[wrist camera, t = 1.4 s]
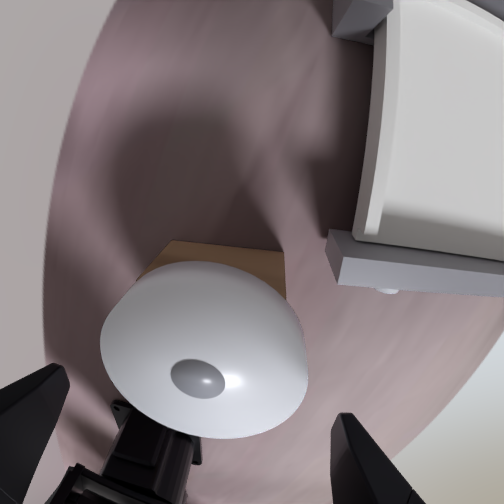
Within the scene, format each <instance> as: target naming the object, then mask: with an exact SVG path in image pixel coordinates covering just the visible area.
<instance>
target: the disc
mask: <svg viewBox="0 0 504 504" xmlns="http://www.w3.org/2000/svg"><path fill="white" fill-rule="evenodd" d="M100 351H101V356H102V360H103V363H104V366H105V369H106V371H107V373H108V375H109V377H110V379H111V380H112V382H113V383H114V385H115V387H116V388H117V389H118V390H119V391H120V393H121V394H122V395H123V396H124V397H125V398H126V399H127V400H128V401H129V402H130V403H131V404H132V405H133V406H134V407H136V408H137V409H138V410H139V411H141V412H142V413H144V414H145V415H147V416H148V417H150V418H151V419H153V420H155V421H157V422H158V423H161V424H163V425H165V426H167V427H169V428H172V429H174V430H177V431H180V432H183V433H187V434H190V435H195V436H200V437H206V438H218V439H231V438H241V437H247V436H252V435H256V434H259V433H262V432H265V431H267V430H270V429H272V428H274V427H276V426H277V425H279V424H281V423H282V422H284V421H285V420H286V419H288V418H289V417H290V416H291V415H292V414H293V413H294V412H295V411H296V410H297V408H298V407H299V405H300V404H301V402H302V401H303V398H304V396H305V393H306V390H307V385H308V366H307V357H306V347H305V339H304V334H303V330H302V327H301V324H300V321H299V319H298V317H297V316H296V314H295V312H294V310H293V309H292V308H291V306H290V305H289V304H288V302H287V301H286V300H285V299H284V298H283V297H282V296H281V295H280V294H279V293H278V292H277V291H276V290H275V289H273V288H272V287H271V286H269V285H268V284H267V283H265V282H264V281H262V280H260V279H259V278H257V277H255V276H254V275H252V274H250V273H247V272H245V271H243V270H240V269H238V268H235V267H231V266H228V265H225V264H220V263H214V262H208V261H184V262H177V263H172V264H167V265H164V266H162V267H159V268H156V269H154V270H152V271H150V272H149V273H147V274H145V275H144V276H143V277H141V278H140V279H139V280H137V281H136V282H135V283H134V285H133V286H132V287H131V288H130V289H129V290H128V291H127V293H126V294H125V295H124V296H123V297H122V299H121V300H120V301H119V302H118V303H117V305H116V306H115V307H114V308H113V309H112V311H111V312H110V313H109V315H108V316H107V318H106V320H105V322H104V325H103V327H102V330H101V337H100Z"/></svg>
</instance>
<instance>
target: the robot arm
mask: <svg viewBox="0 0 504 504" xmlns="http://www.w3.org/2000/svg"><path fill="white" fill-rule="evenodd" d="M69 388H70V382H69V379H68V377H67V374H66V371H65V369H64V367H63V366H62V365H59V364H56V363H51V364H49V365H47V366H45V367H44V368H42V369H39V370H37V371H36V372H34V373H32V374H30V375H28V376H26V377H24V378H22V379H20V380H18V381H16V382H14V383H12V384H10V385H8V386H6V387H4V388H2V389H0V504H23V501H24V498H25V496H26V493H27V490H28V488H29V485H30V483H31V480H32V478H33V475H34V473H35V471H36V468H37V466H38V463H39V461H40V459H41V456H42V454H43V452H44V450H45V447H46V445H47V443H48V441H49V439H50V436H51V434H52V432H53V430H54V428H55V426H56V423H57V421H58V418H59V416H60V413H61V410H62V407H63V404H64V402H65V399H66V396H67V393H68V391H69ZM110 406H111V409H112V412H113V415H114V418H115V420H116V423H117V425H118V428H119V432H118V434H117V436H116V438H115V440H114V443H113V445H112V447H111V449H110V451H109V454H108V456H107V458H106V460H105V463H104V465H103V467H102V469H101V472H100V474H99V475H98V474H96V473H94V472H92V471H90V470H88V469H86V468H85V466H83V465H81V464H79V463H77V464H76V465H75V467H71V466H69V468H68V469H67V471H66V474H65V476H64V478H63V479H62V481H61V483H60V485H59V486H58V487H57V489H56V490H55V491H54V492H53V494H52V495H51V496H50V497H49V499H48V500H47V501H46V502H45V504H182V500H183V495H184V491H185V487H186V483H187V479H188V475H189V471H190V467H191V464H193V465H201V464H202V446H201V437H200V436H195V435H190V434H187V433H183V432H180V431H177V430H174V429H172V428H169V427H167V426H165V425H163V424H161V423H158V422H157V421H155V420H153V419H151V418H150V417H148V416H147V415H145V414H144V413H142V412H141V411H139V410H138V409H137V408H136V407H134V406H133V405H132V404H128V403H125V402H121V401H117V400H113V401H112V403H111V405H110ZM330 477H331V487H332V497H333V504H426V503H425V502H424V501H423V500H422V499H421V498H420V496H419V495H418V494H417V493H416V491H415V490H414V489H412V487H411V486H410V484H409V483H408V482H407V481H406V479H405V478H404V477H403V476H402V475H401V473H400V472H399V471H398V470H397V468H396V467H395V466H394V465H393V463H392V462H391V461H390V460H389V458H388V457H387V456H386V455H385V453H384V452H383V451H382V450H381V448H380V447H379V446H378V445H377V443H376V442H375V441H374V440H373V438H372V437H371V436H370V435H369V433H368V432H367V431H366V430H365V428H364V427H363V426H362V425H361V423H360V422H359V421H358V420H357V418H356V417H355V416H354V415H353V414H352V413H339V414H338V416H337V418H336V420H335V422H334V424H333V426H332V429H331V459H330Z"/></svg>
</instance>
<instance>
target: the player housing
mask: <svg viewBox="0 0 504 504" xmlns="http://www.w3.org/2000/svg"><path fill="white" fill-rule="evenodd" d="M466 1H468V2H470V3H472V4H474V5H476V6H478V7H480V8H482V9H483V10H485V11H487V12H489V13H490V14H492V15H494V16H495V17H497V18H499V19H500V20H502V21H504V0H466ZM392 10H393V0H333V15H332V35H331V37H336V38H342V39H347V40H351V41H356V42H361V43H365V44H369V45H373V46H374V30H375V26H376V25H377V24H378V23H379V22H380V21H381V20H382V19H383V18H384V17H386V16H387V15H388V14H389V13H390V12H391V11H392Z"/></svg>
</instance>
